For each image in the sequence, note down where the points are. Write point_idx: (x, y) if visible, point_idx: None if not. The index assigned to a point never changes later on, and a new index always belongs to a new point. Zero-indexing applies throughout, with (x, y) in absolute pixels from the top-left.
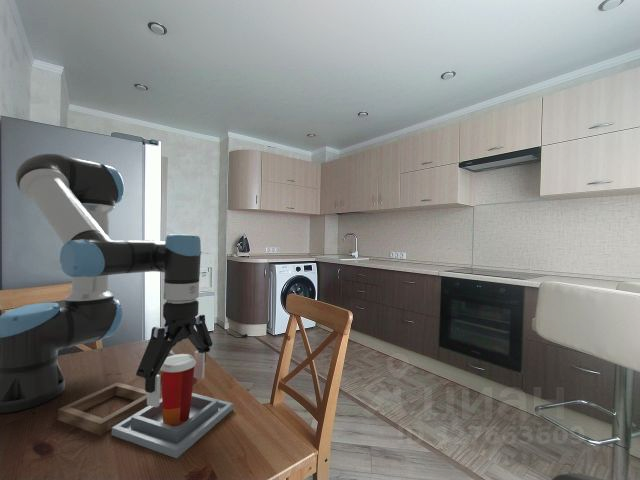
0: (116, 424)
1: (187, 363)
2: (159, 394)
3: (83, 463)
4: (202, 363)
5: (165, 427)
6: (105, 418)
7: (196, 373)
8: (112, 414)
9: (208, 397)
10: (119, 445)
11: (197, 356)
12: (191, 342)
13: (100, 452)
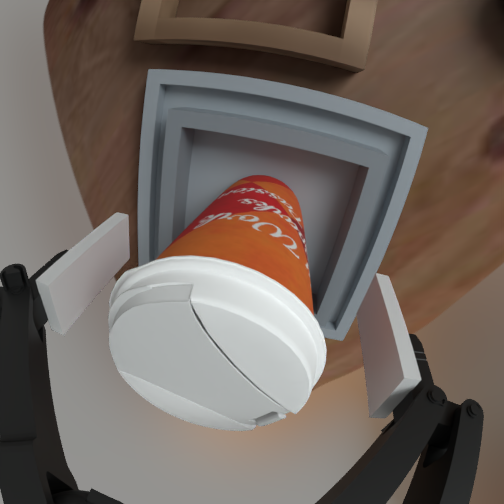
0: (196, 44)
1: (180, 417)
2: (106, 282)
3: (77, 106)
4: (365, 369)
5: (160, 249)
6: (158, 26)
7: (373, 300)
8: (183, 24)
9: (375, 269)
10: (134, 128)
11: (386, 373)
12: (375, 456)
13: (106, 107)
